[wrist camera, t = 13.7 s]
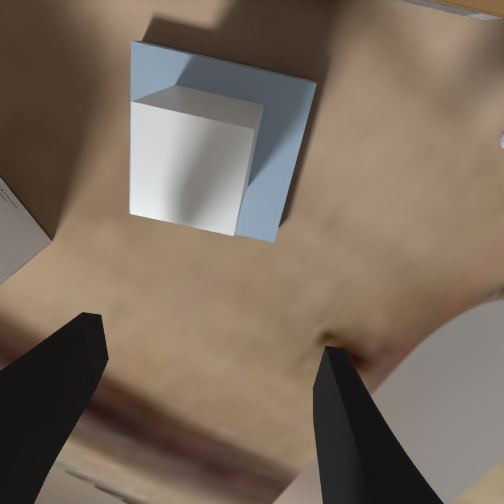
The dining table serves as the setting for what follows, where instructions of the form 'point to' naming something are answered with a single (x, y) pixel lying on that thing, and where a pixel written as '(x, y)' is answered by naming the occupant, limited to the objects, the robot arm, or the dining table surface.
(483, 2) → the bar
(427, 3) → the case
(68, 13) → the dining table surface
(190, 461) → the dining table surface
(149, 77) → the pad
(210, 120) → the block
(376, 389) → the dining table surface
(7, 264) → the ink box
